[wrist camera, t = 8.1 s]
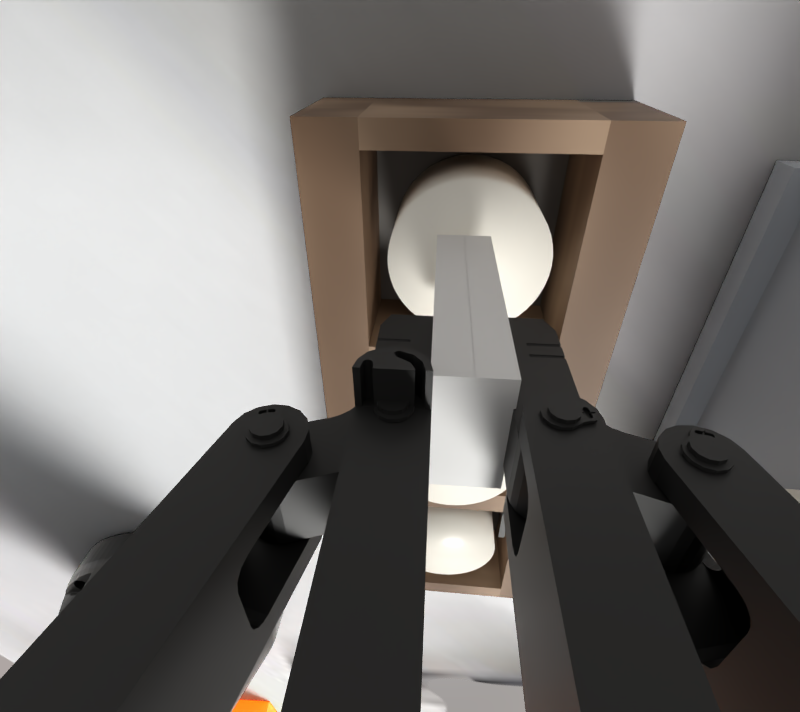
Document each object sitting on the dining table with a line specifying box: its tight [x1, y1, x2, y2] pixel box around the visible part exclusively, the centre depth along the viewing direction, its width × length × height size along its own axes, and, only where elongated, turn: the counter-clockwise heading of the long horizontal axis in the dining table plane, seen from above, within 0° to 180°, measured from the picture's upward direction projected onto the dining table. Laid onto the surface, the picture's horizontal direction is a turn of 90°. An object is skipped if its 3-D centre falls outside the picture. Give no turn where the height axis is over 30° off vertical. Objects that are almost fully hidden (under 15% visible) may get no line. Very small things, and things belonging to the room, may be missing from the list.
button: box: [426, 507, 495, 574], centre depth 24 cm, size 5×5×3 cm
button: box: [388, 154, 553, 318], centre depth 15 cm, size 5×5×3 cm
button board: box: [290, 98, 686, 598], centre depth 20 cm, size 10×23×4 cm, turn 0°
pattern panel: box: [653, 160, 800, 559], centre depth 16 cm, size 3×20×12 cm, turn 0°
